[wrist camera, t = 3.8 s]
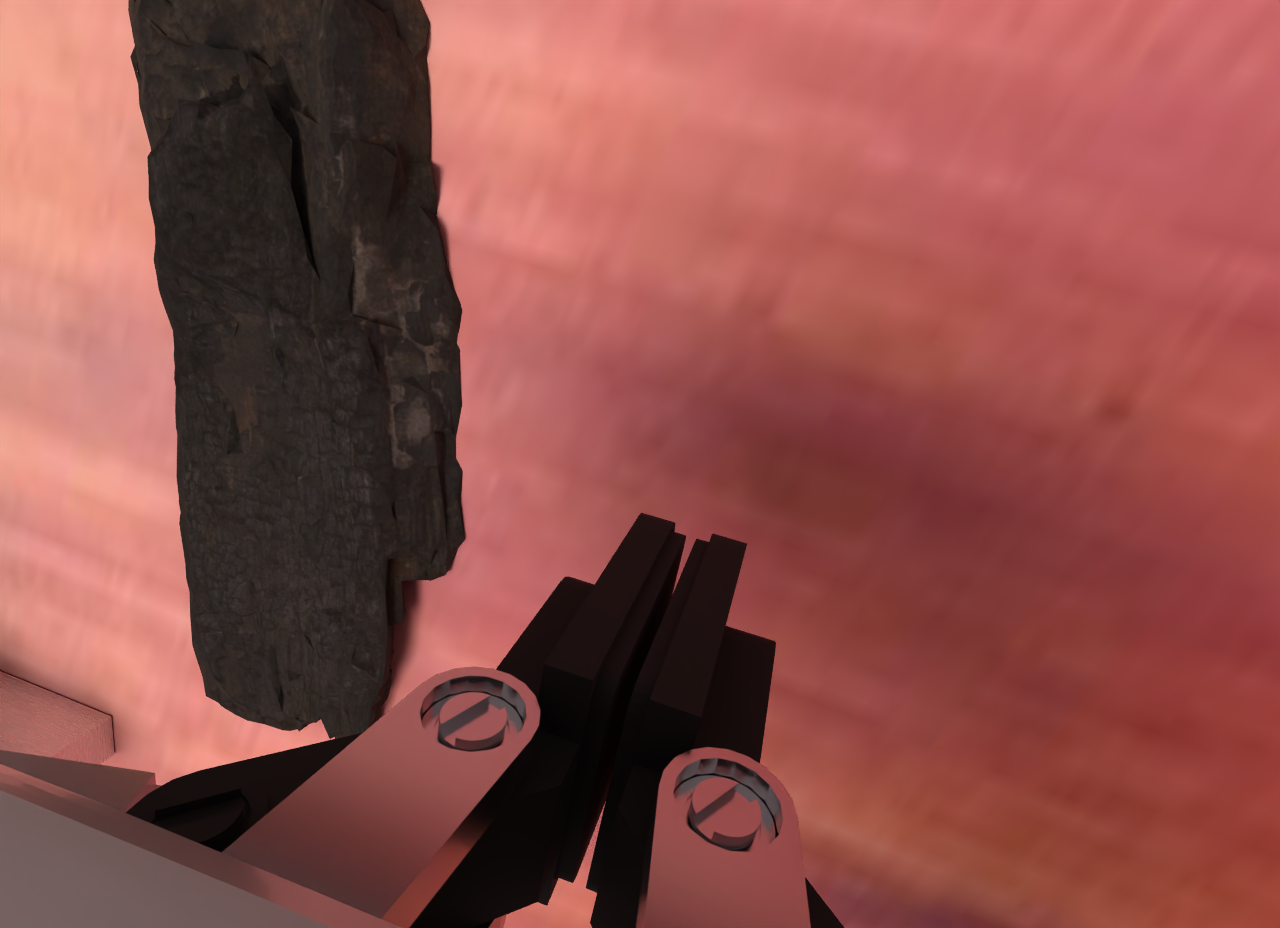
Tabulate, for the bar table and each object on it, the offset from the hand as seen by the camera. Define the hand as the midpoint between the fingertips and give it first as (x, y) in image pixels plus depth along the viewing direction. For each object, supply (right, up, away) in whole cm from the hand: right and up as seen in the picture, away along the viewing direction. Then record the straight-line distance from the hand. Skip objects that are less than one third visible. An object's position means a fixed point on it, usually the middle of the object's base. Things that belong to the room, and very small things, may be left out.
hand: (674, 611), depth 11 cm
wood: (-8, +4, +7) cm, 11 cm away
